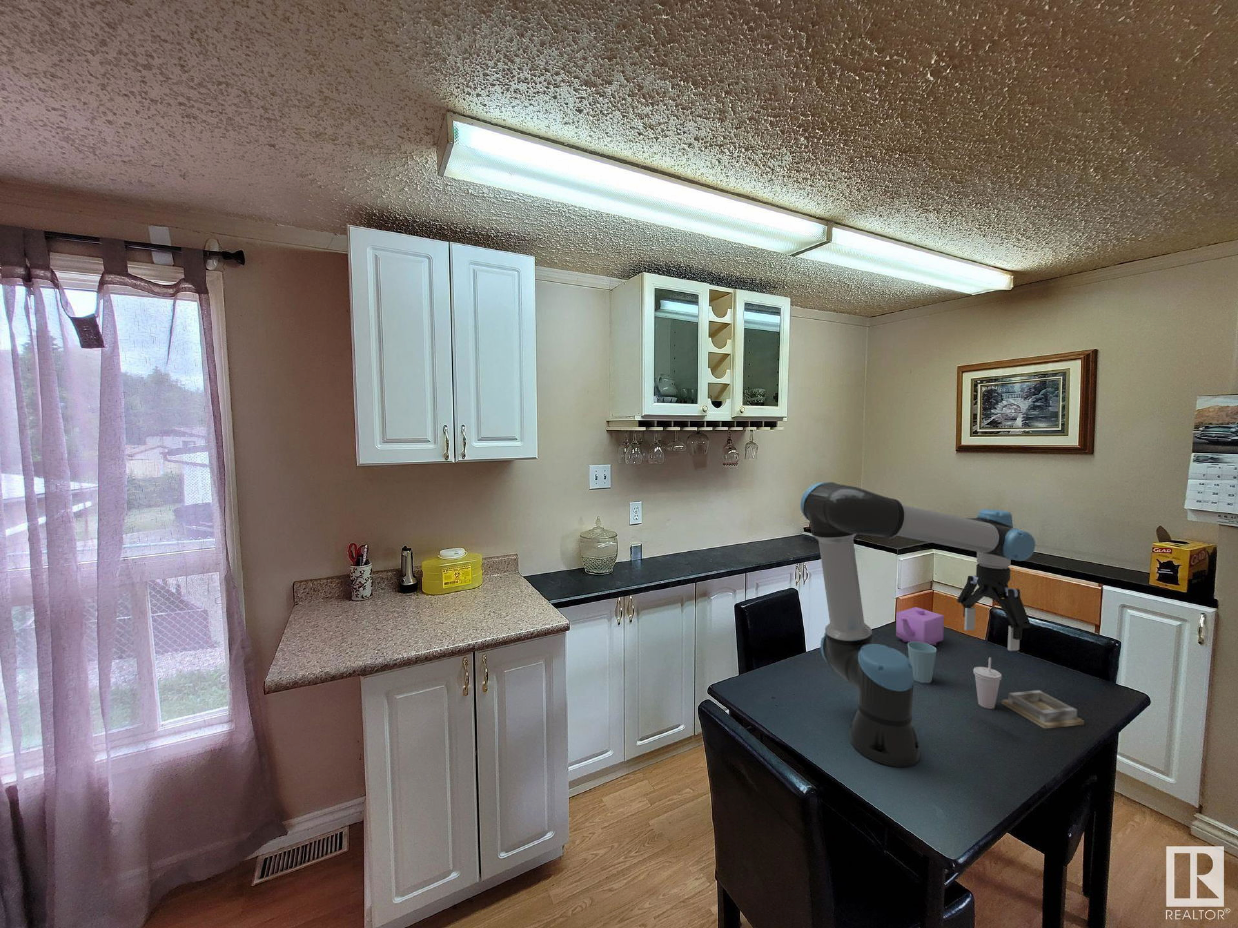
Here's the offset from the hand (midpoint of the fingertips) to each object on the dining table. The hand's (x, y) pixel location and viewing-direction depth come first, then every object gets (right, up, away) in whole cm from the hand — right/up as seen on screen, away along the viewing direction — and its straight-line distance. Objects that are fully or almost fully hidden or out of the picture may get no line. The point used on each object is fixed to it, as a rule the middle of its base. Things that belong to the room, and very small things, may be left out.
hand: (990, 639), depth 135 cm
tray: (+11, -19, -4) cm, 22 cm away
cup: (-10, -18, +16) cm, 26 cm away
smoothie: (-1, -19, +1) cm, 19 cm away
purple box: (+5, -17, +42) cm, 45 cm away
